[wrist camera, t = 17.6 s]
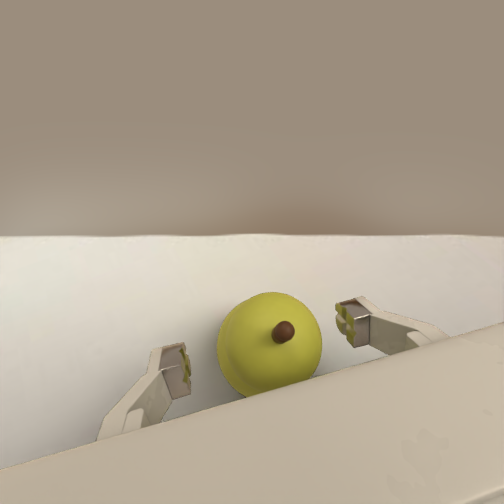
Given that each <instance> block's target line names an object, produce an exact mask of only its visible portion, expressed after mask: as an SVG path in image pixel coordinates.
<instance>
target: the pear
mask: <svg viewBox="0 0 504 504" xmlns="http://www.w3.org/2000/svg"><path fill="white" fill-rule="evenodd" d="M321 352H322V338H321V332H320V328H319V326H318V323H317V321H316V319H315V317H314V316H313V314H312V313H311V311H310V310H309V309H308V308H307V307H306V306H305V305H304V304H303V303H302V302H300V301H299V300H297V299H295V298H294V297H292V296H289V295H287V294H283V293H277V292H268V293H262V294H259V295H256V296H254V297H251V298H250V299H248V300H246V301H244V302H242V303H240V304H239V305H237V306H236V307H235V308H234V309H233V310H232V311H231V312H230V313H229V314H228V315H227V317H226V318H225V320H224V322H223V323H222V326H221V328H220V331H219V334H218V340H217V357H218V361H219V365H220V368H221V370H222V372H223V374H224V376H225V378H226V379H227V381H228V382H229V383H230V385H231V386H232V387H233V388H234V389H235V390H237V391H238V392H239V393H241V394H242V395H244V396H245V397H250V396H253V395H257V394H260V393H264V392H267V391H271V390H274V389H277V388H281V387H284V386H288V385H291V384H294V383H298V382H301V381H305V380H308V379H309V378H310V377H311V376H312V374H313V373H314V372H315V370H316V368H317V366H318V363H319V361H320V357H321Z"/></svg>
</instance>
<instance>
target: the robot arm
mask: <svg viewBox="0 0 504 504" xmlns="http://www.w3.org/2000/svg"><path fill="white" fill-rule="evenodd" d="M335 310H336V311H337V312H338V314H337V315H336V324H337V327H338V329H339V331H340V332H341V333H342V334H344V335H346V336H347V341H348V342H349V343H350V344H351V345H352V346H353V348H356V347H360V346H364V345H368V344H369V345H370V346H372V347H374V348H376V349H378V350H380V351H382V352H384V353H386V354H388V355H390V356H386V357H383V358H380V359H376V360H373V361H369V362H366V363H362V364H359V365H356V366H352V367H349V368H345V369H342V370H339V371H335V372H332V373H328V374H325V375H321V376H318V377H315V378H311V379H308V380H305V381H301V382H298V383H294V384H291V385H288V386H284V387H281V388H277V389H274V390H271V391H267V392H264V393H260V394H257V395H253V396H250V397H247V398H243V399H240V400H236V401H233V402H230V403H226V404H223V405H219V406H216V407H213V408H209V409H206V410H202V411H199V412H195V413H192V414H189V415H185V416H182V417H178V418H175V419H172V420H168V421H165V422H161V423H160V421H161V420H162V418H163V416H164V415H165V413H166V411H167V410H168V408H169V406H170V404H171V403H172V400H174V399H177V398H180V397H183V396H186V395H190V394H191V381H190V378H189V377H190V376H191V365H190V360H189V356H188V355H187V354H186V347H185V344H184V342H180V343H176V344H172V345H167V346H163V347H159V348H155V349H153V350H152V351H151V354H150V359H149V363H148V368H147V372H146V375H143V376H142V377H141V378H140V379H139V380H138V381H137V382H136V383H135V384H134V386H133V387H132V388H131V389H130V390H129V391H128V392H127V393H126V394H125V395H124V396H123V397H122V399H121V400H120V401H119V402H118V403H117V404H116V405H115V406H114V407H113V408H112V409H111V411H110V412H109V413H108V414H107V415H106V416H105V417H104V419H103V422H102V424H101V427H100V430H99V433H98V436H97V439H96V442H93V443H90V444H86V445H83V446H79V447H76V448H73V449H69V450H66V451H62V452H59V453H56V454H52V455H49V456H45V457H42V458H39V459H35V460H32V461H28V462H25V463H21V464H18V465H14V466H11V467H7V468H3V469H0V504H504V322H502V323H498V324H495V325H492V326H488V327H485V328H482V329H478V330H475V331H471V332H468V333H465V334H461V335H458V336H454V337H449V336H448V335H447V334H445V333H444V332H442V331H441V330H440V329H438V328H437V327H435V326H434V325H431V324H428V323H424V322H421V321H417V320H414V319H411V318H407V317H404V316H400V315H397V314H393V313H390V312H386V311H383V312H382V311H381V310H379V309H378V308H377V307H376V306H375V305H373V304H372V303H371V302H370V301H368V300H367V299H366V298H365V297H363V296H360V297H357V298H353V299H351V300H347V301H343V302H339V303H336V305H335Z"/></svg>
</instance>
